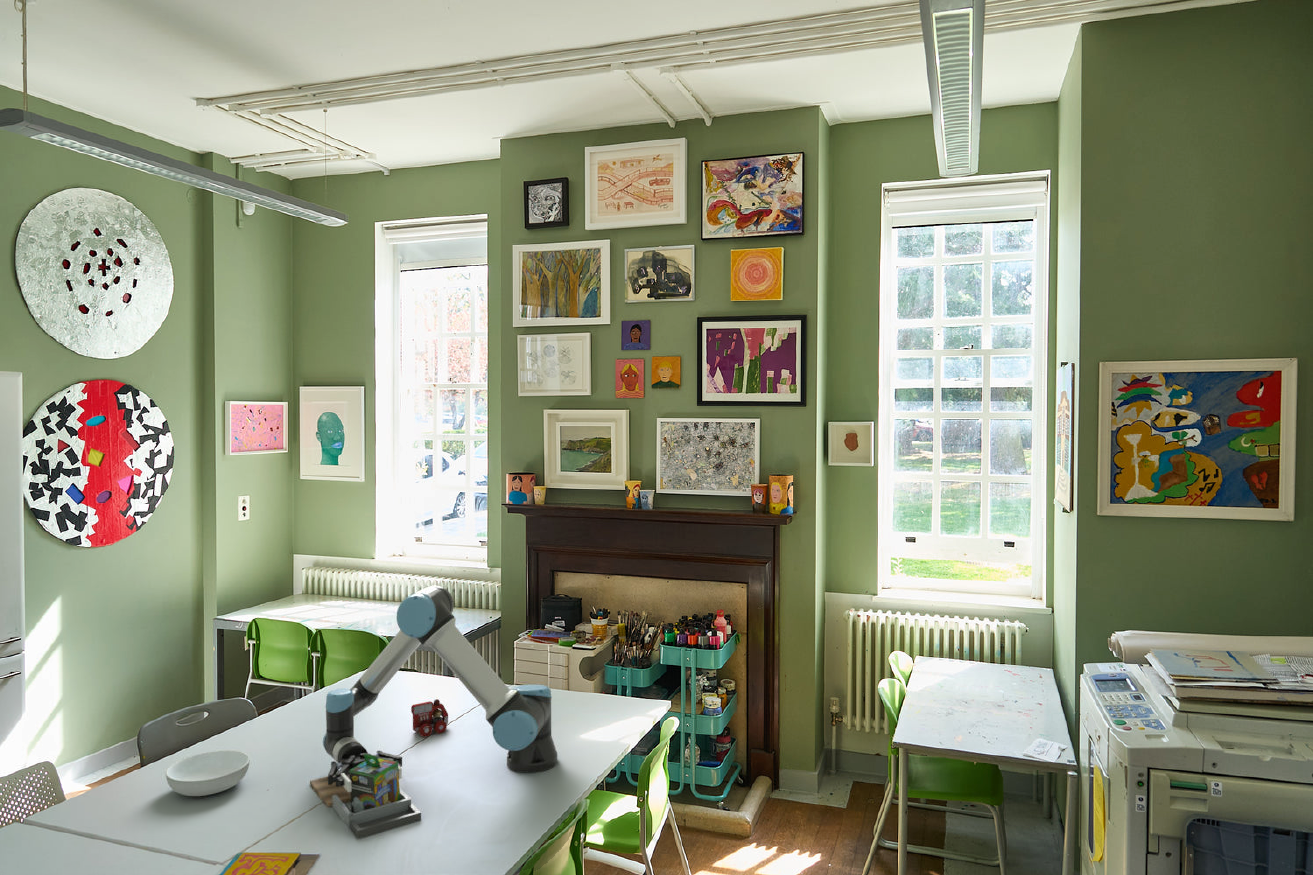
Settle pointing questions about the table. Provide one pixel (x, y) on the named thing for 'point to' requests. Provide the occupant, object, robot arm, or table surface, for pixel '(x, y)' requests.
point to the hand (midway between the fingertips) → (375, 779)
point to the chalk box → (374, 783)
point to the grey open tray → (378, 816)
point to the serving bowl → (207, 772)
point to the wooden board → (330, 791)
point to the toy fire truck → (429, 718)
